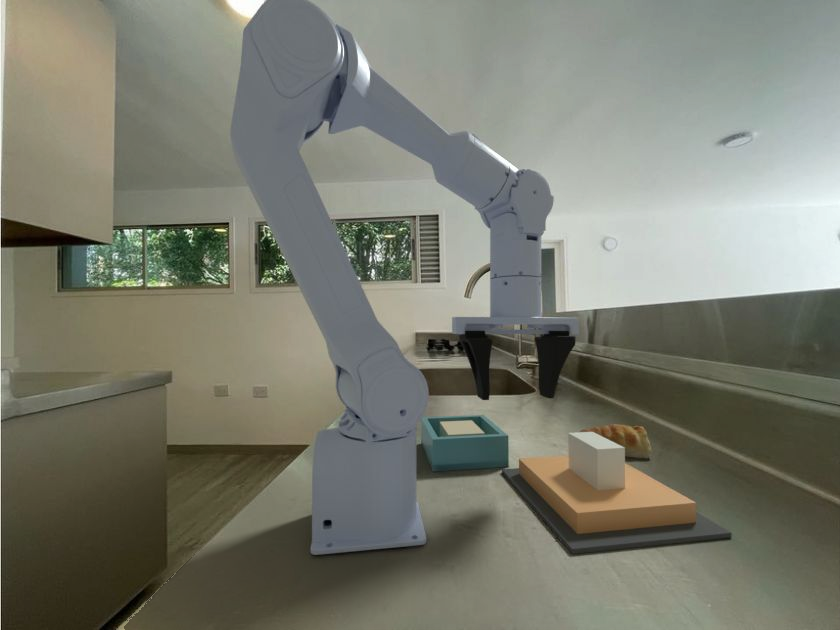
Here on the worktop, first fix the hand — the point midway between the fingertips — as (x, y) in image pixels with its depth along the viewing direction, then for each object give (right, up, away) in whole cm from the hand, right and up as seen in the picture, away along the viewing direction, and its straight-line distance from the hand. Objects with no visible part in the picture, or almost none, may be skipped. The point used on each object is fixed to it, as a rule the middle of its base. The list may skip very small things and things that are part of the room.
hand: (515, 397), depth 39 cm
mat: (+8, -10, -3) cm, 13 cm away
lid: (+8, -9, -3) cm, 12 cm away
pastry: (+18, -11, +11) cm, 24 cm away
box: (-5, -10, +9) cm, 15 cm away
